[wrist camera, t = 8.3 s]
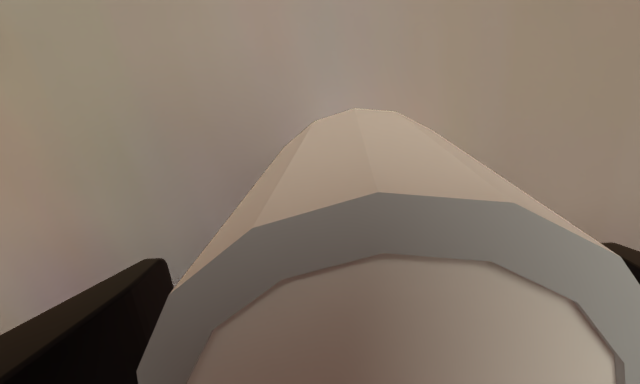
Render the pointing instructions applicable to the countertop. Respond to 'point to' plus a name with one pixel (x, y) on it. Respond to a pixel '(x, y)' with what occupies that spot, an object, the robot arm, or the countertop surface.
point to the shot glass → (395, 275)
